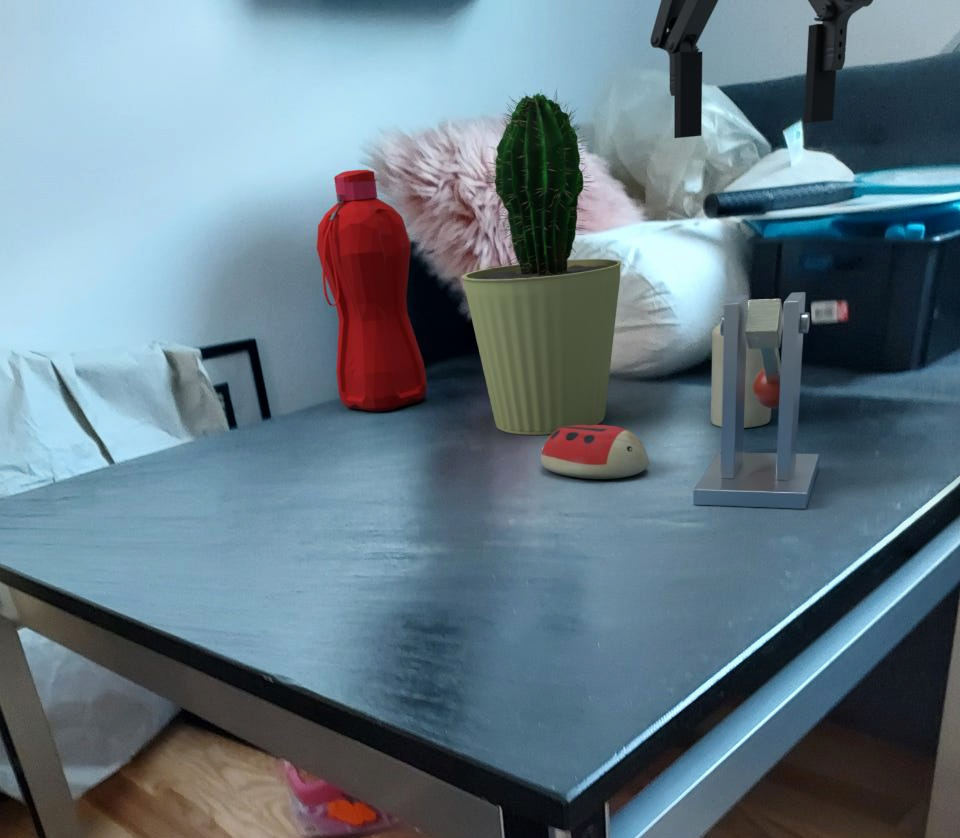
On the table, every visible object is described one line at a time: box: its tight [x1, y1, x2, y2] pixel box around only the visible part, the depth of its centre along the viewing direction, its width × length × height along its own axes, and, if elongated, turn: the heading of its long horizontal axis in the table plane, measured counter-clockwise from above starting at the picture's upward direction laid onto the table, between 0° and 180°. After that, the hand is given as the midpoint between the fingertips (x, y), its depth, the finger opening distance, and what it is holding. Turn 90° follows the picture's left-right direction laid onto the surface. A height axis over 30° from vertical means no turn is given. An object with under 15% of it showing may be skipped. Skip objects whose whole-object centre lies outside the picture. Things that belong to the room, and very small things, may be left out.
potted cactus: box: [461, 87, 622, 436], centre depth 92 cm, size 15×15×30 cm
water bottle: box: [316, 169, 428, 413], centre depth 107 cm, size 9×11×25 cm
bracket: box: [692, 291, 820, 510], centre depth 70 cm, size 10×8×14 cm
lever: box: [745, 298, 784, 410], centre depth 73 cm, size 14×4×4 cm
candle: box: [710, 321, 772, 429], centre depth 89 cm, size 6×6×10 cm
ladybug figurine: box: [540, 424, 650, 480], centre depth 80 cm, size 7×10×4 cm
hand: (749, 130), depth 80 cm, fingers open, 13 cm apart
